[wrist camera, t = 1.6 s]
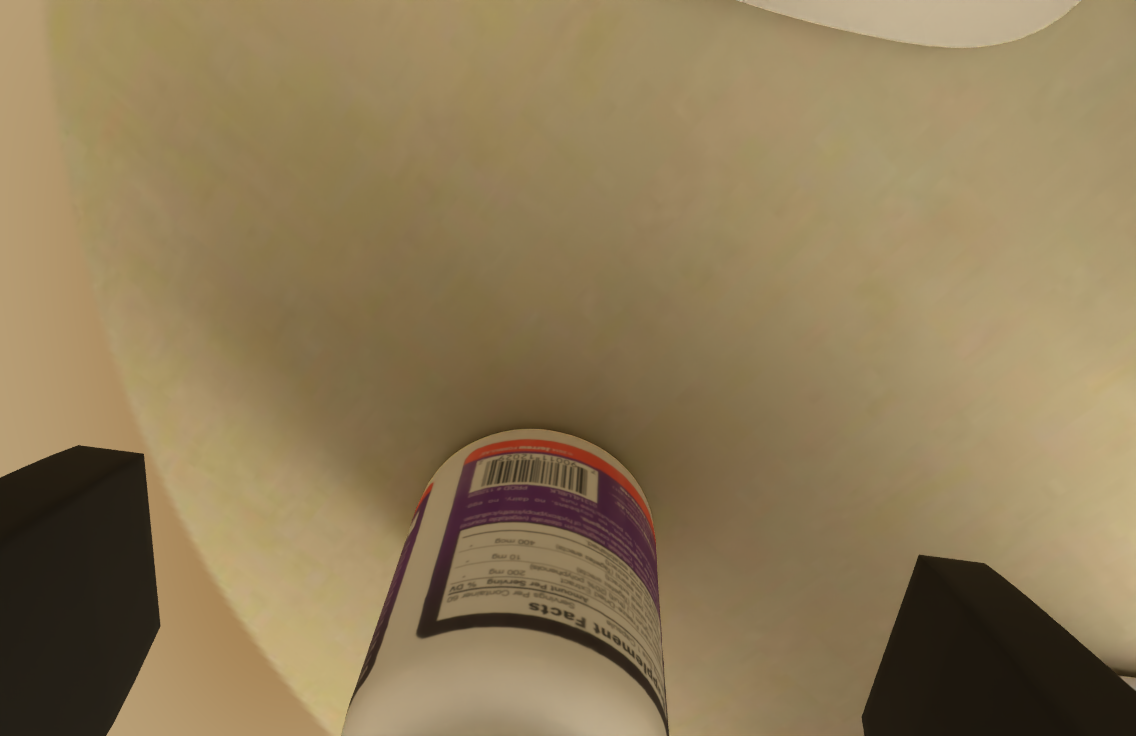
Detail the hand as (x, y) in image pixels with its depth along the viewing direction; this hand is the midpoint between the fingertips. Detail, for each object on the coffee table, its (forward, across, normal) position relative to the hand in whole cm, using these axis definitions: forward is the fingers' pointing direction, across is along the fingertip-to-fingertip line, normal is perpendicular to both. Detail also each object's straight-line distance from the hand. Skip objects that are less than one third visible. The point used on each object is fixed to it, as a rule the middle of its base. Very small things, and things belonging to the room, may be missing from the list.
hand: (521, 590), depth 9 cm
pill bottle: (+11, 0, +7) cm, 13 cm away
